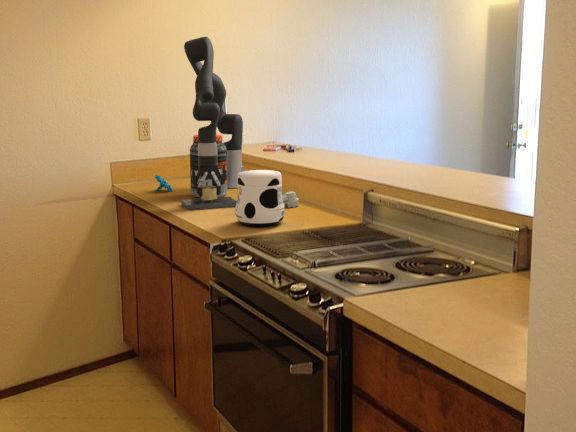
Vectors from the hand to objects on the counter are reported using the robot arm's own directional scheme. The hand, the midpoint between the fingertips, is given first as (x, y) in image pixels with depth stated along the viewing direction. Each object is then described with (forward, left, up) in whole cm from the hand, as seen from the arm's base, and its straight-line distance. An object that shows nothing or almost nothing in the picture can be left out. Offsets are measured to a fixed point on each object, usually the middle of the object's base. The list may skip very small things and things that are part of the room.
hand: (209, 195), depth 281 cm
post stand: (0, 0, -4) cm, 4 cm away
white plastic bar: (-20, +15, -5) cm, 26 cm away
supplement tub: (-6, -22, -4) cm, 23 cm away
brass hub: (0, 0, -1) cm, 1 cm away
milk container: (-9, +38, -4) cm, 39 cm away
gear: (+11, -40, -5) cm, 42 cm away
